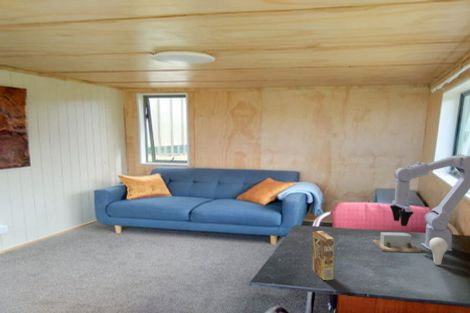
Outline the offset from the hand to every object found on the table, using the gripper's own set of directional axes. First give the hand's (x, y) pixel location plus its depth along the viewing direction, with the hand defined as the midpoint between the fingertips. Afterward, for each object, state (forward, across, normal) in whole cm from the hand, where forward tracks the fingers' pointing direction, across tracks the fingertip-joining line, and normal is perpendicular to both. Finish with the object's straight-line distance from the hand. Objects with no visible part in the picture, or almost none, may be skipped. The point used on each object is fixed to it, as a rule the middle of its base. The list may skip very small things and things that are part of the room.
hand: (400, 223), depth 144 cm
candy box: (+12, +33, -41) cm, 54 cm away
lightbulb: (+10, +21, +6) cm, 24 cm away
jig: (+10, +2, -2) cm, 11 cm away
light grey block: (+10, +2, -2) cm, 10 cm away
